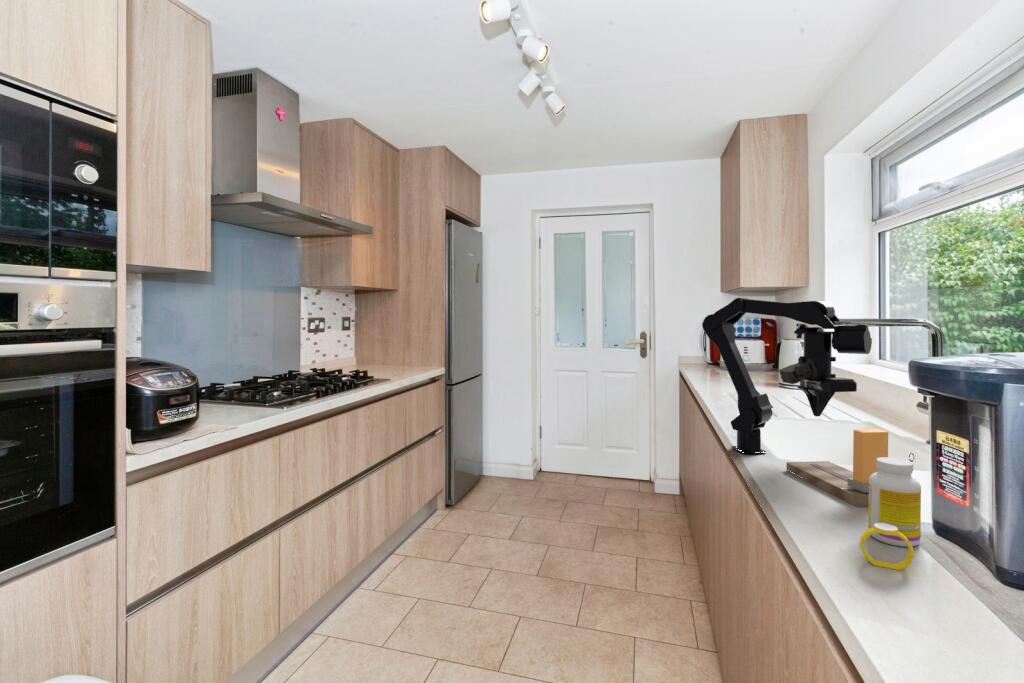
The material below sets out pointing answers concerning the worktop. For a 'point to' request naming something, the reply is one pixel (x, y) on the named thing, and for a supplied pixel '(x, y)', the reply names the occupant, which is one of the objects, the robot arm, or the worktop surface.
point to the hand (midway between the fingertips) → (816, 416)
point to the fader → (867, 456)
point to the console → (830, 480)
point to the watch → (887, 530)
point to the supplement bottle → (895, 501)
